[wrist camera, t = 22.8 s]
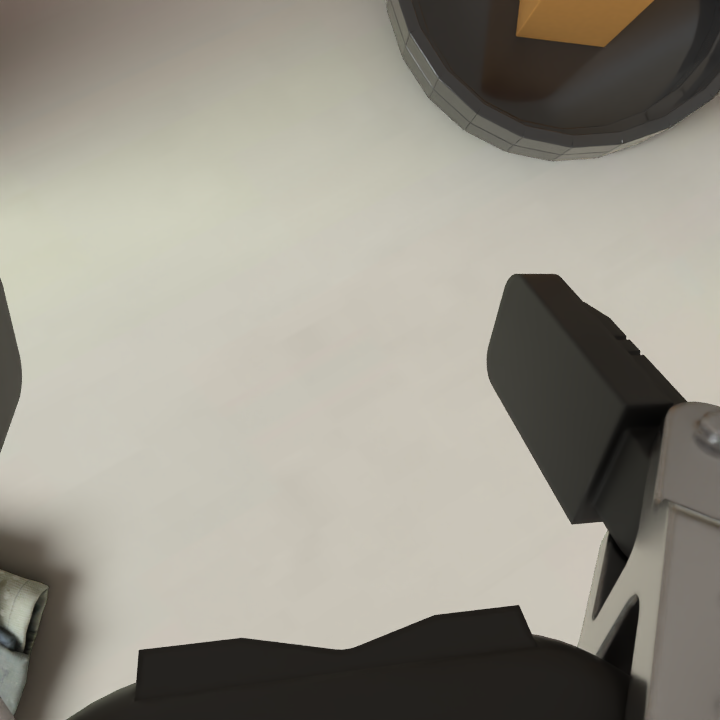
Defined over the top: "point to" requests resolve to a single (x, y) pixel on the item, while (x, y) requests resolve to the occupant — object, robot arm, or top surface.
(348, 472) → the top surface
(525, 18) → the bread loaf
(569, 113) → the pan
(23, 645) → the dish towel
